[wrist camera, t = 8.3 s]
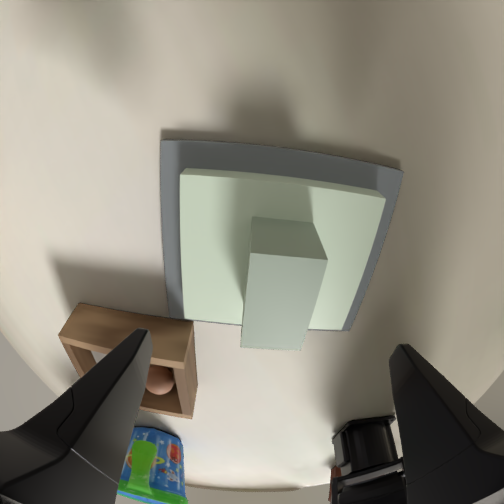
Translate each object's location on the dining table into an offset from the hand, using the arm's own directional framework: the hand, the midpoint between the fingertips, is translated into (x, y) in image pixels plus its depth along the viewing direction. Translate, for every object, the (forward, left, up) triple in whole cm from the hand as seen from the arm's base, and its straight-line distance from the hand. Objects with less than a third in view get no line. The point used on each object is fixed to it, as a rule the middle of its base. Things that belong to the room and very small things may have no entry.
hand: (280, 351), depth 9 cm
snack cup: (+11, +30, -7) cm, 33 cm away
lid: (0, 0, -7) cm, 7 cm away
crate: (+9, +10, -7) cm, 15 cm away
